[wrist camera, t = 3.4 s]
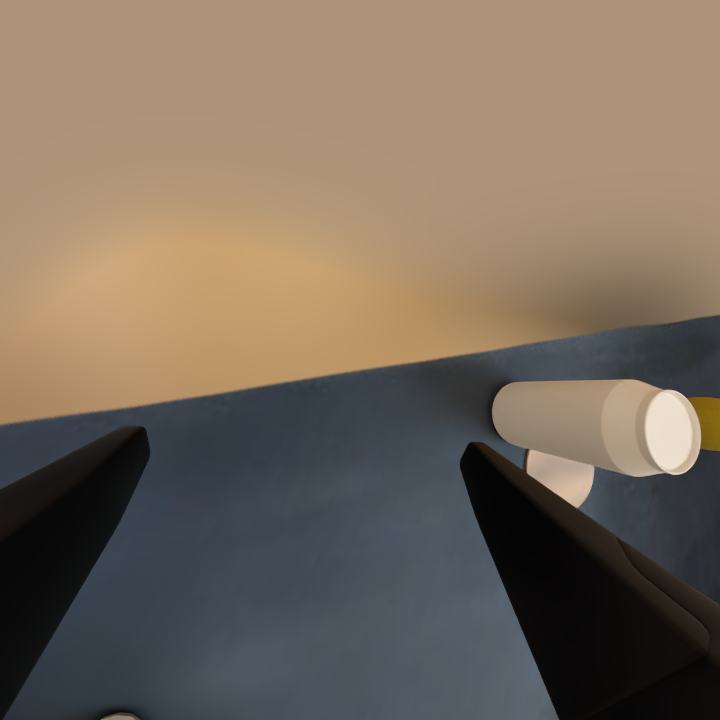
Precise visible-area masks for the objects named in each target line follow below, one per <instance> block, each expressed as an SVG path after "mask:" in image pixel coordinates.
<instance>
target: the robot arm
mask: <svg viewBox="0 0 720 720" xmlns="http://www.w3.org/2000/svg"><path fill="white" fill-rule="evenodd" d="M149 457H150V447H149V442H148V437H147V432H146V429H145V428H144V427H142V426H122V427H120V428H118V429H116V430H114V431H112V432H110V433H108V434H107V435H105V436H103V437H101V438H99V439H97V440H95V441H93V442H91V443H89V444H87V445H85V446H83V447H81V448H80V449H78V450H76V451H74V452H72V453H70V454H68V455H66V456H64V457H62V458H60V459H58V460H56V461H55V462H53V463H51V464H49V465H47V466H45V467H43V468H41V469H39V470H37V471H35V472H33V473H31V474H30V475H28V476H26V477H24V478H22V479H20V480H18V481H16V482H14V483H12V484H10V485H8V486H6V487H5V488H3V489H1V490H0V720H3V718H4V717H5V715H6V713H7V712H8V710H9V708H10V707H11V705H12V703H13V702H14V700H15V698H16V697H17V695H18V693H19V691H20V690H21V688H22V686H23V685H24V683H25V681H26V680H27V678H28V676H29V675H30V673H31V671H32V670H33V668H34V666H35V664H36V663H37V661H38V659H39V658H40V656H41V654H42V653H43V651H44V649H45V648H46V646H47V644H48V643H49V641H50V639H51V638H52V636H53V634H54V632H55V631H56V629H57V627H58V626H59V624H60V622H61V621H62V619H63V617H64V616H65V614H66V612H67V611H68V609H69V607H70V605H71V604H72V602H73V600H74V599H75V597H76V595H77V594H78V592H79V590H80V589H81V587H82V585H83V584H84V582H85V580H86V578H87V577H88V575H89V573H90V572H91V570H92V568H93V567H94V565H95V563H96V562H97V560H98V558H99V557H100V555H101V553H102V551H103V550H104V548H105V546H106V545H107V543H108V541H109V540H110V538H111V536H112V535H113V533H114V531H115V529H116V528H117V526H118V524H119V522H120V520H121V518H122V516H123V514H124V512H125V510H126V508H127V506H128V503H129V501H130V499H131V497H132V495H133V493H134V490H135V488H136V486H137V484H138V482H139V480H140V478H141V475H142V473H143V471H144V469H145V467H146V465H147V462H148V460H149ZM460 469H461V472H462V475H463V479H464V482H465V485H466V488H467V491H468V495H469V498H470V501H471V504H472V508H473V511H474V513H475V516H476V519H477V522H478V524H479V527H480V529H481V531H482V534H483V536H484V539H485V541H486V544H487V546H488V548H489V551H490V553H491V556H492V558H493V561H494V563H495V565H496V568H497V570H498V573H499V575H500V578H501V580H502V582H503V585H504V587H505V590H506V592H507V594H508V597H509V599H510V602H511V604H512V607H513V609H514V611H515V614H516V616H517V619H518V621H519V624H520V626H521V628H522V631H523V633H524V636H525V638H526V640H527V643H528V645H529V648H530V650H531V653H532V655H533V657H534V660H535V662H536V665H537V667H538V670H539V672H540V674H541V677H542V679H543V682H544V684H545V686H546V689H547V691H548V694H549V696H550V699H551V701H552V703H553V706H554V708H555V711H556V713H557V716H558V718H559V720H720V605H719V604H717V603H716V602H714V601H713V600H711V599H709V598H708V597H706V596H705V595H703V594H702V593H700V592H699V591H697V590H696V589H694V588H693V587H691V586H689V585H688V584H686V583H685V582H683V581H682V580H680V579H679V578H677V577H676V576H674V575H673V574H671V573H670V572H668V571H667V570H665V569H664V568H662V567H661V566H659V565H658V564H656V563H655V562H653V561H652V560H650V559H649V558H648V557H646V556H645V555H643V554H642V553H640V552H639V551H637V550H636V549H634V548H633V547H632V546H630V545H629V544H627V543H626V542H624V541H623V540H622V539H620V538H619V537H617V536H615V535H614V534H613V533H612V532H610V531H609V530H607V529H606V528H604V527H603V526H602V525H600V524H599V523H597V522H596V521H594V520H593V519H592V518H590V517H589V516H587V515H586V514H584V513H583V512H582V511H580V510H579V509H577V508H576V507H574V506H573V505H572V504H570V503H569V502H567V501H566V500H564V499H563V498H562V497H560V496H559V495H557V494H556V493H554V492H553V491H552V490H550V489H549V488H547V487H546V486H544V485H543V484H542V483H540V482H539V481H537V480H536V479H534V478H533V477H532V476H530V475H529V474H527V473H526V472H524V471H523V470H522V469H520V468H519V467H517V466H516V465H514V464H513V463H512V462H510V461H509V460H507V459H506V458H504V457H503V456H502V455H500V454H499V453H497V452H496V451H494V450H493V449H492V448H490V447H489V446H487V445H486V444H484V443H482V442H470V443H469V444H468V445H467V447H466V449H465V451H464V453H463V455H462V457H461V460H460Z"/></svg>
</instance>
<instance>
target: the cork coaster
mask: <svg viewBox="0 0 720 720" xmlns="http://www.w3.org/2000/svg"><path fill="white" fill-rule="evenodd" d="M525 472H526V473H527V474H529V475H530V476H532V477H533V478H534V479H536V480H537V481H539V482H540V483H542V484H543V485H544V486H546V487H547V488H549V489H550V490H552V491H553V492H554V493H556V494H557V495H559V496H560V497H562V498H563V499H564V500H566V501H567V502H569V503H570V504H572V505H573V506H574V507H576V508H578V507H579V506H580V505H581V504H582V503H583V502H584V501H585V499H586V498H587V496H588V494H589V492H590V489H591V487H592V483H593V477H594V466H592V465H588V464H584V463H580V462H576V461H572V460H569V459H565V458H561V457H557V456H553V455H549V454H546V453H542V452H538V451H534V450H530V449H528V452H527V456H526V463H525Z"/></svg>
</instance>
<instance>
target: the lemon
mask: <svg viewBox="0 0 720 720" xmlns="http://www.w3.org/2000/svg"><path fill="white" fill-rule="evenodd" d="M687 400H688V401H689V402H690V403H691V405H692V406H693V408H694V410H695V412H696V414H697V417H698V420H699V424H700V430H701V444H700V448H701V449H706V450H714V451H720V399H718V398H709V397H695V398H687Z"/></svg>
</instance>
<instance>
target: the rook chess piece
mask: <svg viewBox="0 0 720 720" xmlns="http://www.w3.org/2000/svg"><path fill="white" fill-rule="evenodd" d="M101 720H141V719H140V718H138V717H137V716H135V715H134V714H132V713H122V712H119V713H116V714H112V715H109V716H105V717H104V718H102V719H101Z"/></svg>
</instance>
